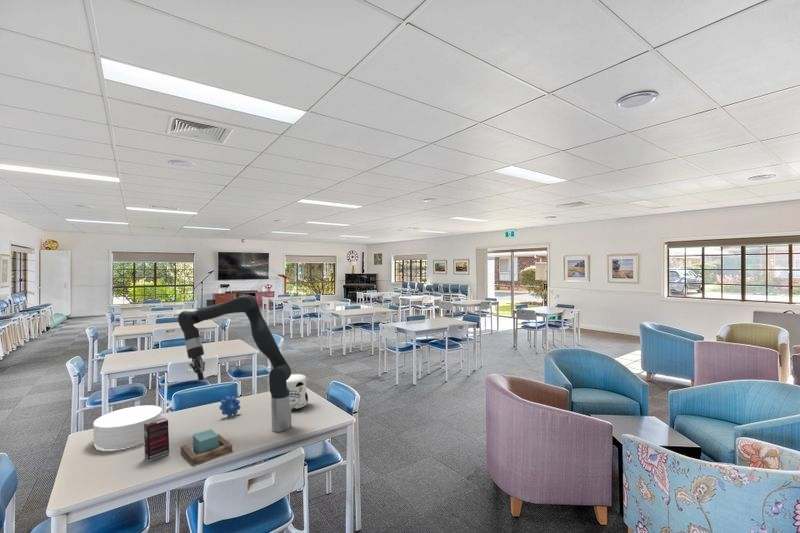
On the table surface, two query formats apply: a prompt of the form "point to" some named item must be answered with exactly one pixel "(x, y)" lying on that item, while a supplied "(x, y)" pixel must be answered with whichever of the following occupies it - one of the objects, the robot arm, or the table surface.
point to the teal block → (205, 441)
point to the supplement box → (156, 439)
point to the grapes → (229, 406)
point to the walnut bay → (196, 459)
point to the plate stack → (124, 426)
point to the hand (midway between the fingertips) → (201, 380)
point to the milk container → (297, 391)
